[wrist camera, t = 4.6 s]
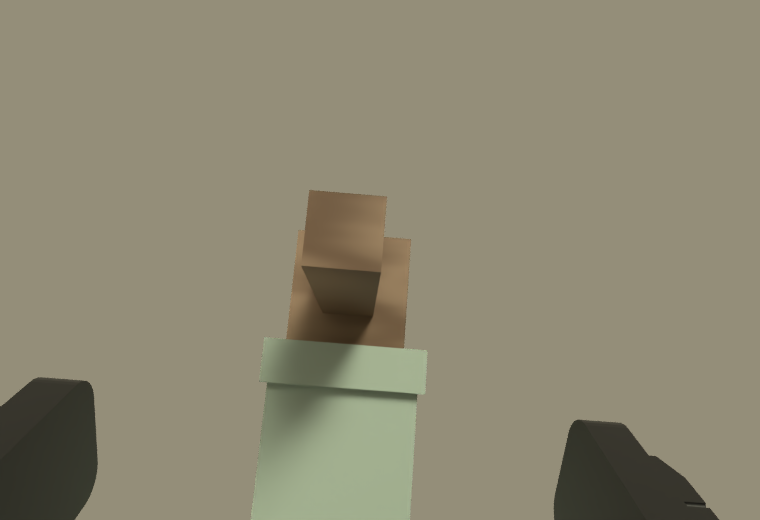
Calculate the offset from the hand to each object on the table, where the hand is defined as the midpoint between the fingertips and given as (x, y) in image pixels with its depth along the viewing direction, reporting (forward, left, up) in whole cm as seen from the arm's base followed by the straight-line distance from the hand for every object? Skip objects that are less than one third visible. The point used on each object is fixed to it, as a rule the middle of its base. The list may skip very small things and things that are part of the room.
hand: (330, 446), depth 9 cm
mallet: (0, -16, +3) cm, 17 cm away
